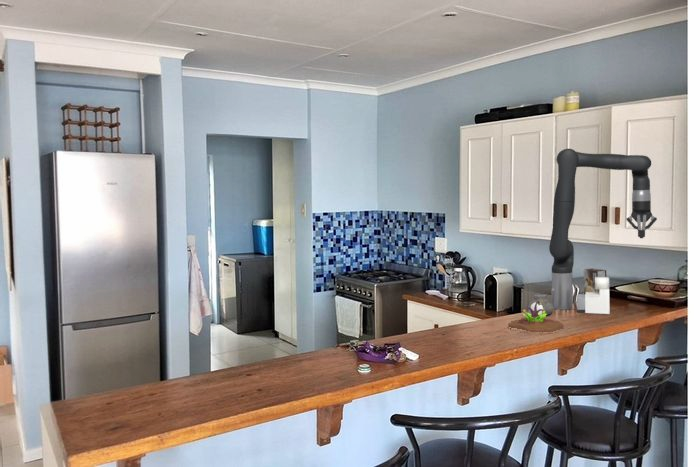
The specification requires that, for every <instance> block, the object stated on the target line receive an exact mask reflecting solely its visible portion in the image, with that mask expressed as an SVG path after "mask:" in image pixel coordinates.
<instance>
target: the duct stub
mask: <svg viewBox="0 0 700 467" xmlns="http://www.w3.org/2000/svg"><path fill="white" fill-rule="evenodd" d="M576 310H578V314H579V313H581V314H586V313H585V294H584V293H583V294H579V293H578V294H577V295H576Z"/></svg>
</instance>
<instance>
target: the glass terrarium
mask: <svg viewBox="0 0 700 467" xmlns="http://www.w3.org/2000/svg"><path fill="white" fill-rule="evenodd" d="M537 301H539V302H541V305H538V303H537V311H538V310H539V309H543V310H545V314H546V313H547V315H546V316H548V315H551V314H553V313H554V310H555V309H554V307H553V305H552V302H551V301H549V300H548V298H547V295H546V294H534V300H532V301H530V302H529V304H528V306H527V307H530V308H532V310H533V311H534V307H535V304H536V302H537ZM527 311H528V312H527V313H529V314H531V311H530V309H527ZM539 314H540V316H541V315H543V314H542V311H539Z"/></svg>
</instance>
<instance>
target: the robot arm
mask: <svg viewBox="0 0 700 467" xmlns="http://www.w3.org/2000/svg"><path fill="white" fill-rule="evenodd" d="M555 158H556V163H557V167H558V168H557V170H558V172H557V174H558V176H557V183H556V187H555V191H554V197H553V210H552V211H553V212H552V230H551V236H550V241H549V247H548V248H549V249H548V251H549V253H550V255H551V256H552V258H553V263H552V266H551V292H550V293H551V304H552V305H553V307H554V310H561V311H562V310H566V311H567V310H568V311H569V310H572V309H574V307H573V306H574V301H573V300H574V298H573V297H574V292H573V285H574V284H573V268H574V258H575V255H574V253H575V252H574V251H575V250H574V249H575V248H574V245H573V242H572V241H571V240H570V239H569V229H570V225H571V222H572V219H573V218H574V214H575V205H576V204H575V203H576V173H577V168H595V169H596V168H597V169H602V170H603V169H604V170H614V171H623V170H624V171H625V170H626V171H628V170H629V171H631V176H632V192H631V193H632V194H631V209H632V210H631V214H630V215H629V217H626V218H625V219H626V221H627V222H628V224H630V226H631V227H632V228H633V229H635V230H637V237H638V238H639V239H644V238H645V237H646V230H648V229H650V228H651V227H652V225H653V226H654V223H656V222H657V220H658V218H657V216H654V215H653V213H652V206H651V204H652V202H651V200H652V197H651V194H652V193H651V180H650V178H649V169H650V168H651V167H652V160H651V158H650V157H649V156H647V155H644V154H643V155H642V154H640V155H639V154H632V155H627V154H621V153H619V154H617V153H586V152H579V151H576V150H575V149H572V148H564V149H562V150H561V151H559V152H558V153H557V155H556V157H555ZM633 220H634V221H635V222H636V223H637V225H636V224H635V223H634V222H633ZM649 220H650V222H649ZM647 222H649V223H648V224H647V225H646V223H647Z"/></svg>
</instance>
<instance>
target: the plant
mask: <svg viewBox="0 0 700 467" xmlns="http://www.w3.org/2000/svg"><path fill="white" fill-rule="evenodd" d="M537 303H538V305H541V302H539V301H537V302H536V304H535V307H534V311H533V310H532V308H530V307H528V306H527V307H525V308H524V309H522V315H523V316H524V317H522V318H521V319H515V320H511V321H510V322H508V324H507V325H508V326H509V327H511V328H517V329H522V330H526V331H530V332H542V333H543V332H553V331H556V330H560V329H563V330H564V324H563V323H561V322H560V321H558V320H553V319H549V318H547V316H548V315H547V313H546V314H545V310H543V309H539V310H538V311H537ZM528 309H530V311H531V314H529V312H527V310H528ZM539 311H542V314H543V315H541V316H540V314H539ZM525 313H526V314H525ZM508 326H507V327H508ZM560 331H561V330H560Z"/></svg>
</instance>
